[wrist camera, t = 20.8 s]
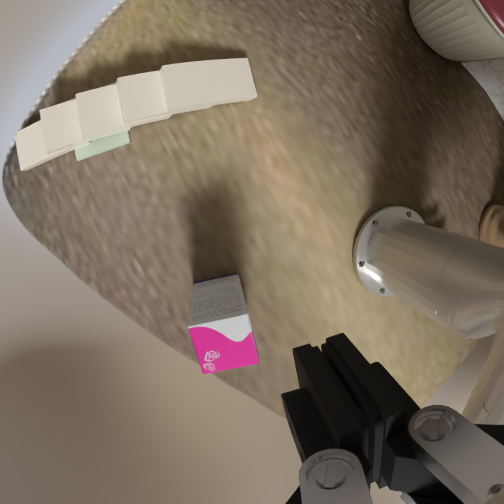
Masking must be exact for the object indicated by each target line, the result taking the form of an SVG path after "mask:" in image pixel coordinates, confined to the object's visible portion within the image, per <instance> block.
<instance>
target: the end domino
mask: <svg viewBox="0 0 504 504" xmlns="http://www.w3.org/2000/svg"><path fill="white" fill-rule="evenodd" d="M15 139H16V146H17V152H18V158H19V164H20V169H21V170H29V169H31V168H33V167H35V166H37V165H40V164H42V163H44V162H46V161H49V160H51V159H53V158H55V157H58V156H60V155H63V154H65V153H67V152H70V151H72V150H75V149H77V148H80V147H82V146H85V145H88V144H90V143H92V141H88V142H85V143H81V144H78V145H75V146H72V147H69V148H65V149H62V150H59V151H56V152H53V153H50V154H47V153H46V149H45V144H44V138H43V131H42V124H41V120H40V121H38V122H36V123H34V124H32V125H30V126H28V127H26V128H24V129H22V130H20V131H18V132H16V133H15Z"/></svg>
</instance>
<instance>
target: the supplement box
mask: <svg viewBox="0 0 504 504" xmlns="http://www.w3.org/2000/svg"><path fill="white" fill-rule="evenodd" d="M188 329H189V333H190V336H191V339H192V342H193V345H194V348H195V351H196V354H197V357H198V360H199V363H200V366H201V369H202V372H203V374H208V373H213V372H218V371H222V370H227V369H232V368H237V367H242V366H247V365H252V364H257V363H259V357H258V352H257V348H256V343H255V339H254V335H253V330H252V326H251V322H250V318H249V314H248V310H247V306H246V302H245V298H244V294H243V290H242V286H241V282H240V278H239V274H232V275H228V276H224V277H219V278H214V279H210V280H205V281H200V282H195V283H193V289H192V296H191V304H190V312H189V320H188Z"/></svg>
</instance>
